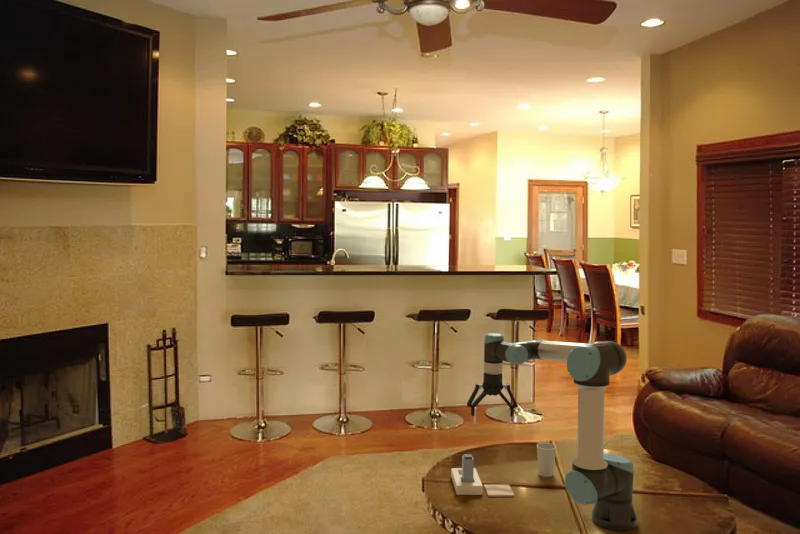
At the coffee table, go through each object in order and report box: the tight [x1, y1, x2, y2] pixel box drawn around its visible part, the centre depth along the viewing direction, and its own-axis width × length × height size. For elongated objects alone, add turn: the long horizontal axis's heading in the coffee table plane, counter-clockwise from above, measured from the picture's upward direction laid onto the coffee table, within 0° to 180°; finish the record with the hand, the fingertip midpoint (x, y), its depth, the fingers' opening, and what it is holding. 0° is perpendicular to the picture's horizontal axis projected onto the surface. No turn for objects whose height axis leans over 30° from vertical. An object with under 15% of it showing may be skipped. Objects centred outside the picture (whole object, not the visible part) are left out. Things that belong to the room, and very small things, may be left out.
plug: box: [461, 453, 475, 482], centre depth 257 cm, size 4×4×13 cm
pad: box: [483, 484, 515, 498], centre depth 255 cm, size 10×10×1 cm
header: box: [450, 467, 484, 496], centre depth 260 cm, size 18×10×4 cm, turn 2°
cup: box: [536, 442, 557, 478], centre depth 272 cm, size 8×8×12 cm
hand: (491, 424), depth 263 cm, fingers open, 13 cm apart
